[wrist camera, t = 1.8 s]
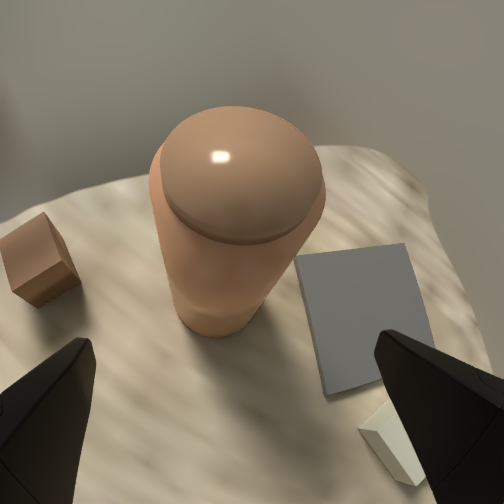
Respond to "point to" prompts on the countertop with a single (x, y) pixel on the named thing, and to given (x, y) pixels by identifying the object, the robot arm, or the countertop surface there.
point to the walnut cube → (38, 261)
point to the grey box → (392, 444)
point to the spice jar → (232, 211)
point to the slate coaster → (358, 309)
